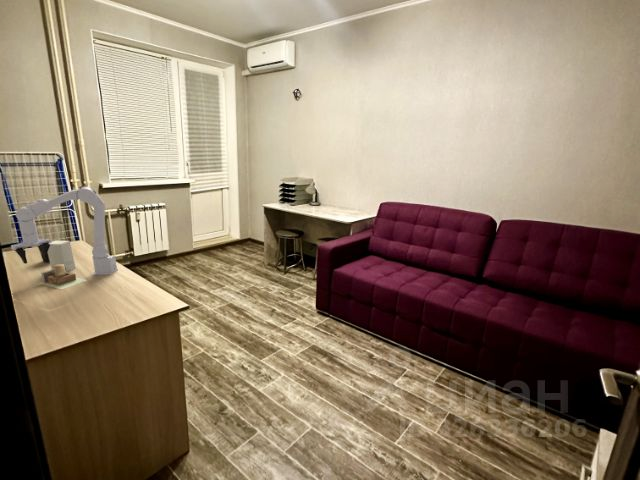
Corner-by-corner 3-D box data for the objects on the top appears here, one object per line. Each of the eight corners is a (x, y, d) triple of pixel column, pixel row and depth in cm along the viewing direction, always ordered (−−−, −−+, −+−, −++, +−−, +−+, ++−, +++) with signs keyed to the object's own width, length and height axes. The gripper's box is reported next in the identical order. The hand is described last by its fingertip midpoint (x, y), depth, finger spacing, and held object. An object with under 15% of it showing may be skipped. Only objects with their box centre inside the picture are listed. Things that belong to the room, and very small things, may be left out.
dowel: (69, 279, 163) (65, 263, 161) (64, 282, 160) (61, 266, 157) (59, 279, 163) (56, 264, 161) (54, 282, 159) (51, 267, 157)
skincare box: (76, 268, 178) (71, 240, 174) (65, 273, 172) (60, 244, 168) (61, 267, 179) (56, 239, 175) (50, 272, 173) (44, 243, 168)
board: (87, 281, 163) (87, 280, 163) (61, 290, 153) (61, 289, 153) (67, 276, 169) (67, 274, 169) (40, 284, 158) (40, 283, 158)
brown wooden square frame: (76, 279, 163) (75, 273, 162) (58, 285, 156) (57, 279, 155) (65, 276, 166) (64, 271, 165) (47, 282, 159) (46, 276, 158)
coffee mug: (43, 258, 191) (39, 242, 188) (61, 257, 194) (58, 240, 192) (36, 265, 181) (33, 247, 178) (56, 263, 184) (53, 246, 182)
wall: (67, 276, 167) (65, 266, 166) (45, 283, 158) (43, 273, 157) (65, 275, 168) (63, 266, 166) (43, 282, 159) (41, 272, 157)
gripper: (13, 237, 147) (20, 267, 151) (52, 231, 159) (57, 258, 163) (6, 235, 150) (13, 263, 154) (44, 229, 163) (50, 255, 166)
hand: (35, 260), depth 159 cm, fingers open, 7 cm apart
